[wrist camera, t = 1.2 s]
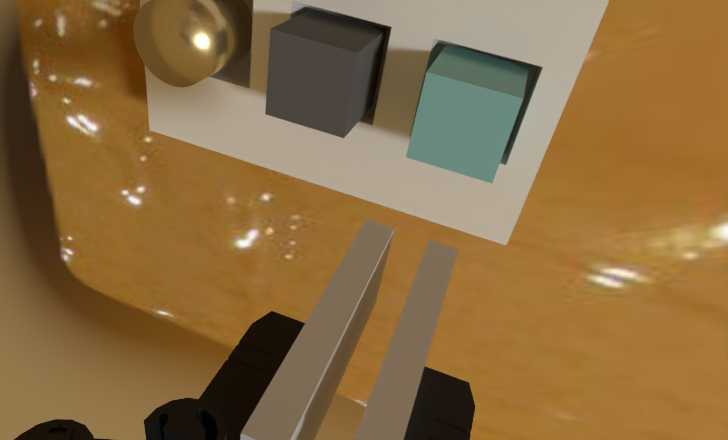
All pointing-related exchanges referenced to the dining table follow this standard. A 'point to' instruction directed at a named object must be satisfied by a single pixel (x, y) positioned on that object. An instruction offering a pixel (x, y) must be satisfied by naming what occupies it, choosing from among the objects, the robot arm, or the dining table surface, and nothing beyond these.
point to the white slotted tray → (396, 104)
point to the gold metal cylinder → (191, 37)
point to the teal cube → (467, 112)
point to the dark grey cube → (323, 71)
